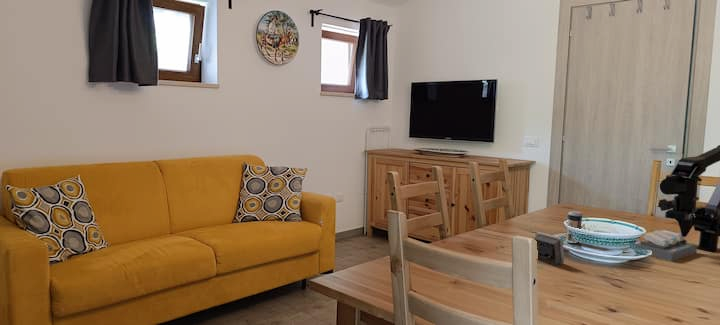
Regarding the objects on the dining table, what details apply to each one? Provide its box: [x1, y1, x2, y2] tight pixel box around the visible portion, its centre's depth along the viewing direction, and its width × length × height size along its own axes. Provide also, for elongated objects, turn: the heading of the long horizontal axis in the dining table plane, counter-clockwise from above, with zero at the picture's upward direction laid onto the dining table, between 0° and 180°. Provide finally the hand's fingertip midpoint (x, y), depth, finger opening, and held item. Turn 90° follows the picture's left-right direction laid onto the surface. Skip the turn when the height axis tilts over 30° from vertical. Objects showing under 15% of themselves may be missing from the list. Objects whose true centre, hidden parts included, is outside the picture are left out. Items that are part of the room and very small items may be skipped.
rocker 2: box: [652, 230, 678, 245], centre depth 174 cm, size 4×7×2 cm, turn 35°
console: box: [634, 239, 698, 262], centre depth 174 cm, size 20×12×4 cm, turn 125°
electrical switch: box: [532, 231, 565, 266], centre depth 158 cm, size 9×5×9 cm, turn 38°
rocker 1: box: [642, 231, 670, 247], centre depth 171 cm, size 4×7×2 cm, turn 35°
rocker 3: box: [660, 229, 686, 241], centre depth 177 cm, size 4×7×2 cm, turn 35°
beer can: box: [565, 210, 583, 242], centre depth 181 cm, size 5×5×12 cm
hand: (684, 236), depth 174 cm, fingers closed, pressing on rocker 3
